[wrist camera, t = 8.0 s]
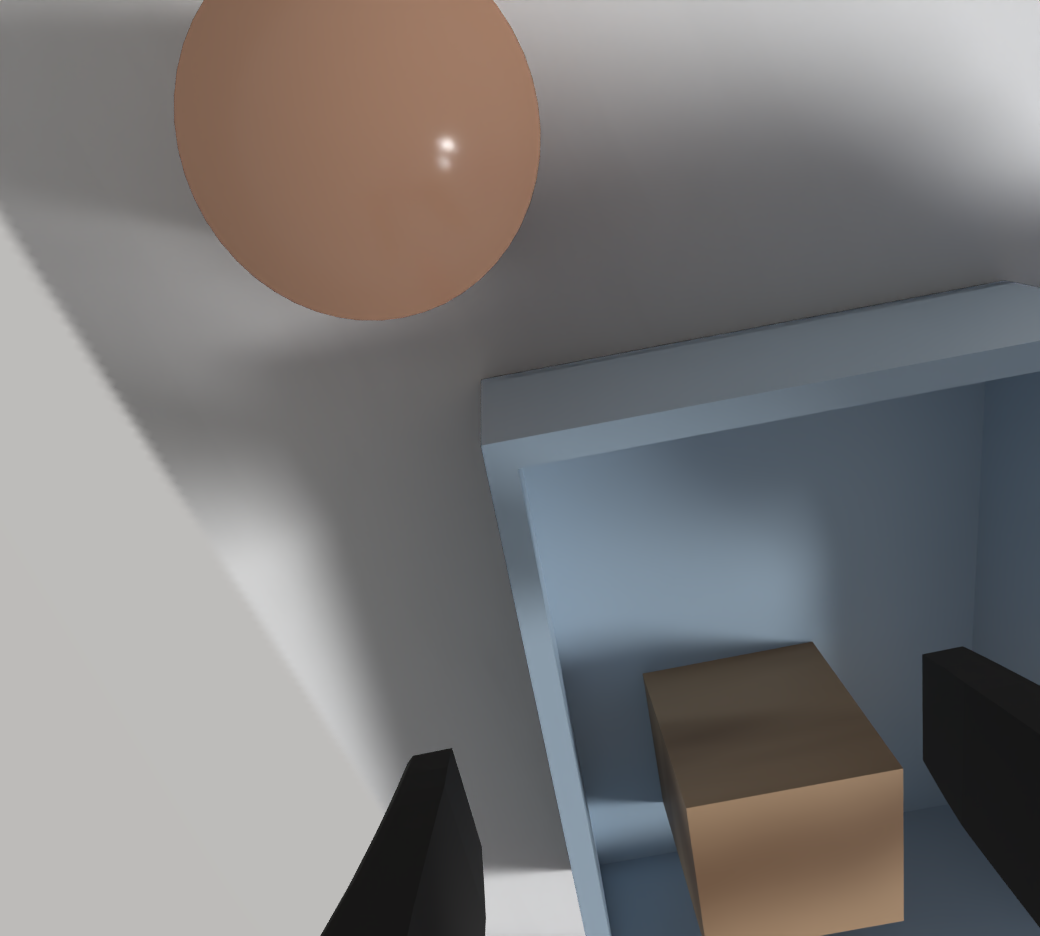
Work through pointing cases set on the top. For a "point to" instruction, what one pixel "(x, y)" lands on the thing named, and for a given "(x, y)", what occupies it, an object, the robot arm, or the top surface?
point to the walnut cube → (777, 796)
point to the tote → (772, 559)
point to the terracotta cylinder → (358, 145)
